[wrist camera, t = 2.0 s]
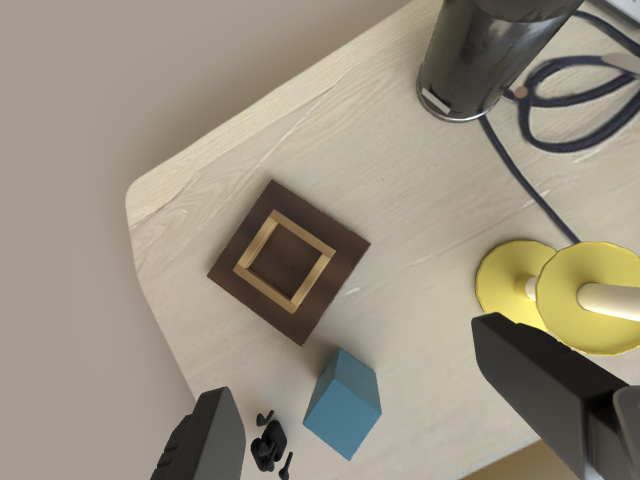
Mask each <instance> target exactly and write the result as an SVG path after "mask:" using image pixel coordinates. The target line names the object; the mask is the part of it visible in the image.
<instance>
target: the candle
mask: <svg viewBox="0 0 640 480" xmlns="http://www.w3.org/2000/svg"><path fill="white" fill-rule="evenodd" d="M476 295H477V298H478V300H479V302H480V304H481V306H482V308H483V311H484V312H485V313H486V314H489V313H493V312H499V313H501V314H502V315H504V316H505V317H507V318H508V319H510V320H511V321H513V322H514V323H516V324H517V323H520V322H521V323H524V324H527V325H530V326H533V327H536V328H539V329H541V330H543V331H544V332H545V331H547V330H549V331H550V332H551V333H552V334H553V335H554V336H555V337H556V338H557V339H559V340H560V341H561V342H562V343H563V344H565V345H567V346H569V347H571V348H574V349H576V350H578V351H581V352H583V353H586V354H588V355H603V356H615V355H618V354H621V353H624V352H627V351H630V350H633V349H636V348H638V347H639V346H640V258H639V257H638V256H637V255H636V254H634V253H633V252H632V251H631V250H628V249H625V248H623V247H620V246H617V245H614V244H612V243H609V242H580V243H577V244H574V245H572V246H569V247H567V248H564V249H561V250H559V251H558V252H556V251H555V250H554V249H553V248H551V247H548V246H546V245H543V244H541V243H538V242H535V241H512V242H509V243H506V244H504V245H501V246H499V247H496V248H495V249H494V250H493V251H492V252H491V253H490V254H489V255H487V256H486V257H485V258H484V259H483V260H482V263H481V265H480V268H479V270H478V272H477V275H476Z"/></svg>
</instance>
